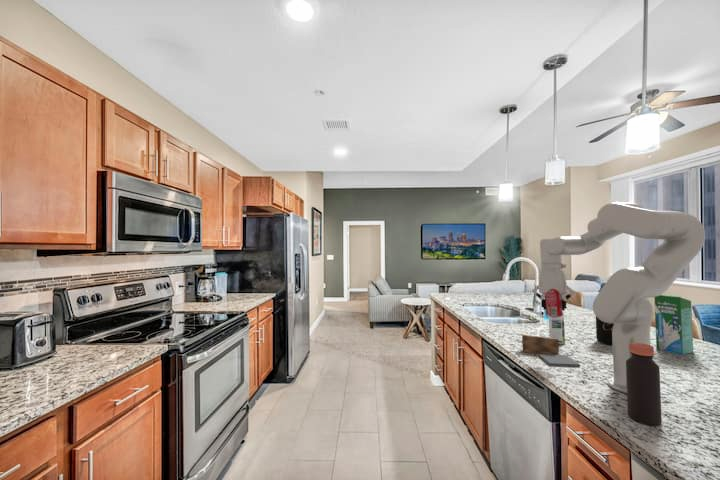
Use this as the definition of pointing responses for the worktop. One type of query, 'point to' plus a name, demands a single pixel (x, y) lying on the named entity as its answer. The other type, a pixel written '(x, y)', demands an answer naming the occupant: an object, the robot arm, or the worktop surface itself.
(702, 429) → the worktop surface
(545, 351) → the brown wooden block
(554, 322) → the syrup box
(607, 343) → the coffee jar
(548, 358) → the mat
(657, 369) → the bottle
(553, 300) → the beverage can
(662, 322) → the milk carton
